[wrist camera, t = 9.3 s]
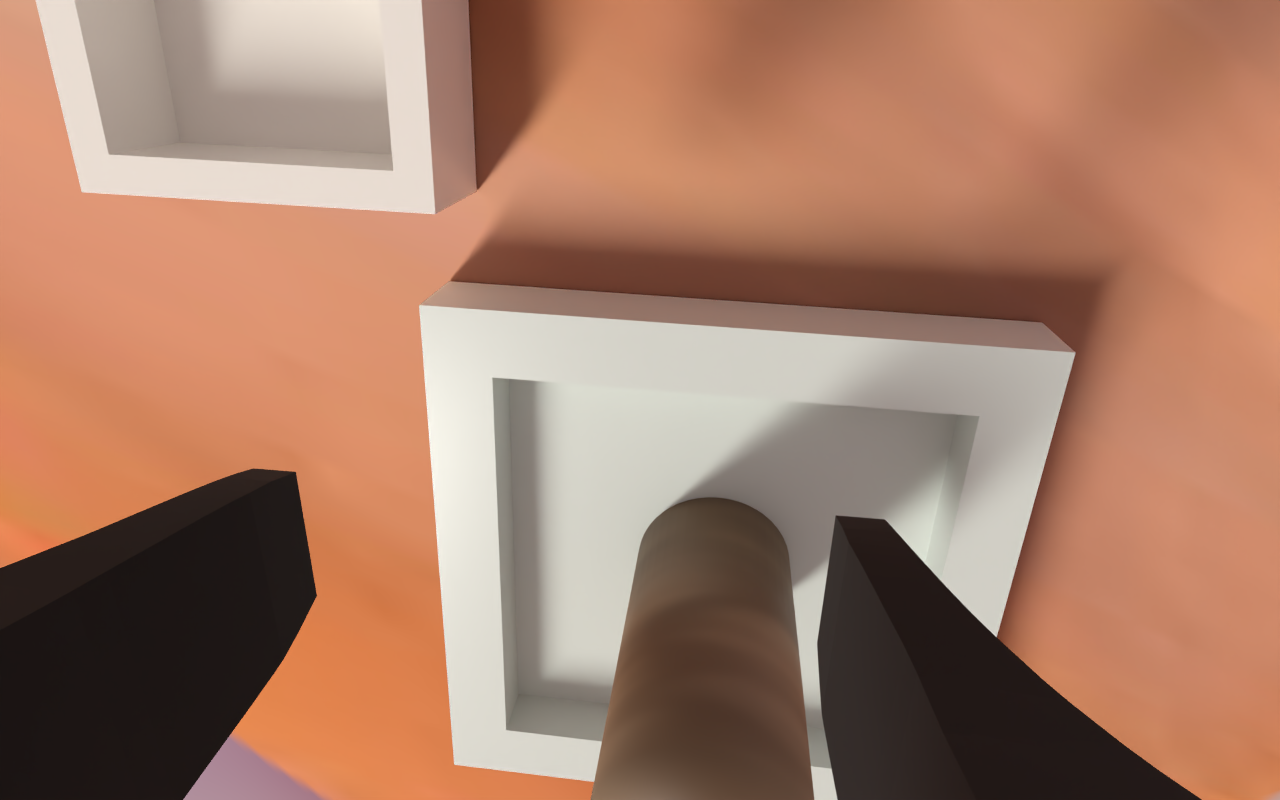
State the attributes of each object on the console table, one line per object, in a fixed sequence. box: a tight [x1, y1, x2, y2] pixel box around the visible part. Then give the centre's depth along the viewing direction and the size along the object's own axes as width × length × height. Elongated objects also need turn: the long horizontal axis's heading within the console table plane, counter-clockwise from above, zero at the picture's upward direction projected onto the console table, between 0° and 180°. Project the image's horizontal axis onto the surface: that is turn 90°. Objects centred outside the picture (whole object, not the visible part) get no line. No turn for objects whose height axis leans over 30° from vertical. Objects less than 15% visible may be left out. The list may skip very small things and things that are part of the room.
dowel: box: [591, 497, 814, 800], centre depth 18 cm, size 4×4×8 cm
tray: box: [419, 281, 1076, 800], centre depth 21 cm, size 14×14×2 cm
